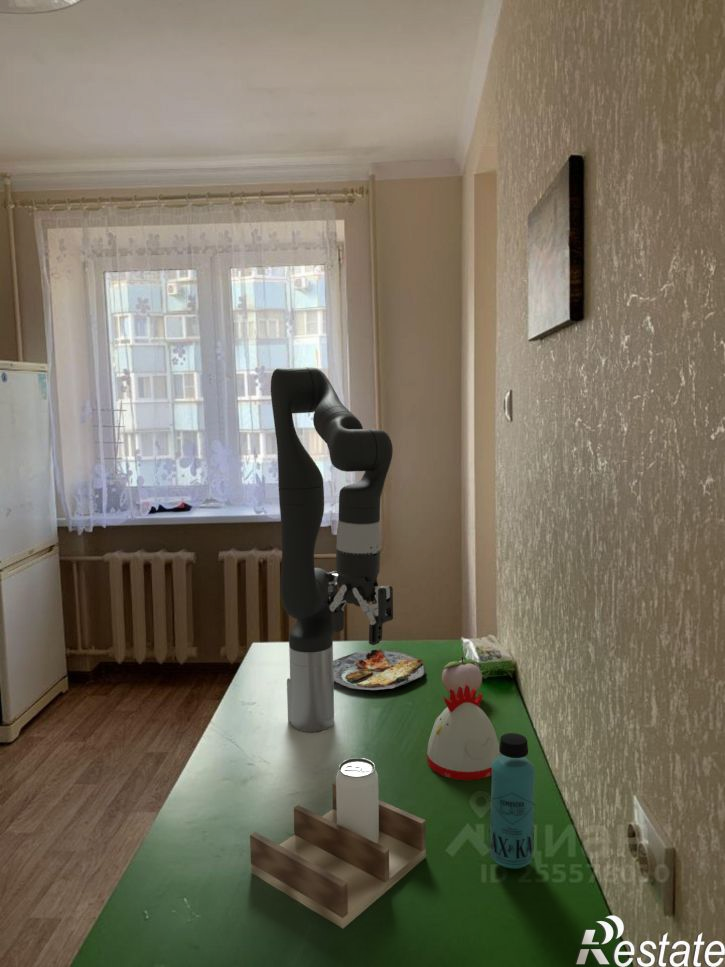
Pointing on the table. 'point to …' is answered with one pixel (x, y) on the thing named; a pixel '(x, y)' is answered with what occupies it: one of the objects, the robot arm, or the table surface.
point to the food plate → (377, 669)
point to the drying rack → (339, 860)
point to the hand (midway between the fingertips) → (355, 637)
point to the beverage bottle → (512, 804)
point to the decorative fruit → (462, 675)
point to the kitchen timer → (463, 739)
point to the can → (358, 797)
